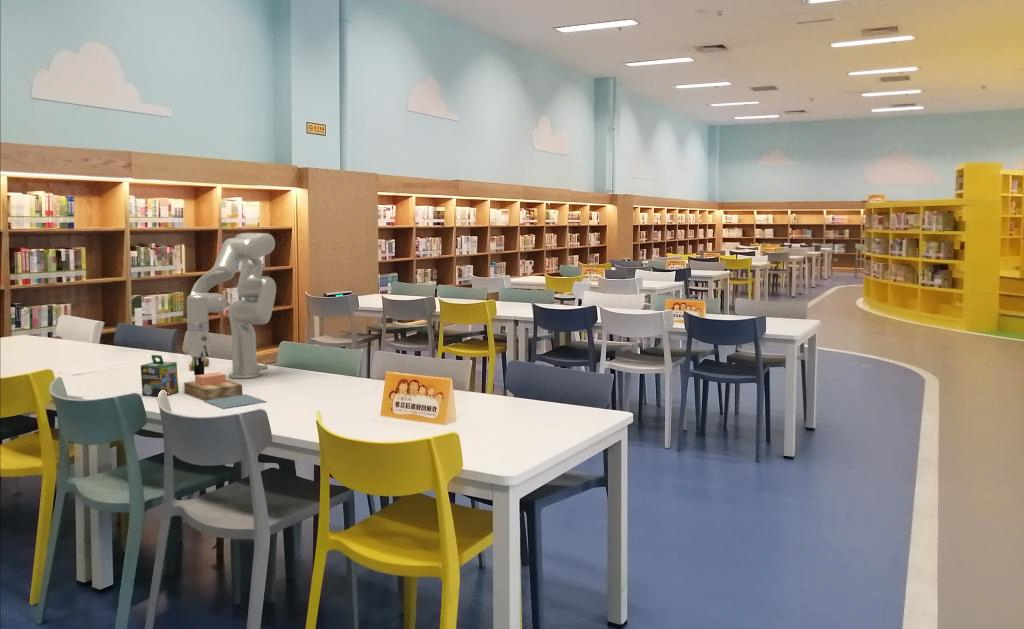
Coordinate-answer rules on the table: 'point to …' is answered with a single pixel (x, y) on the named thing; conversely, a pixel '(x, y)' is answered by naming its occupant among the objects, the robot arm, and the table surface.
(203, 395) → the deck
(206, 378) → the salmon pink block
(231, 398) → the mat
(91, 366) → the table surface
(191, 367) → the toy lion
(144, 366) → the green printed box
